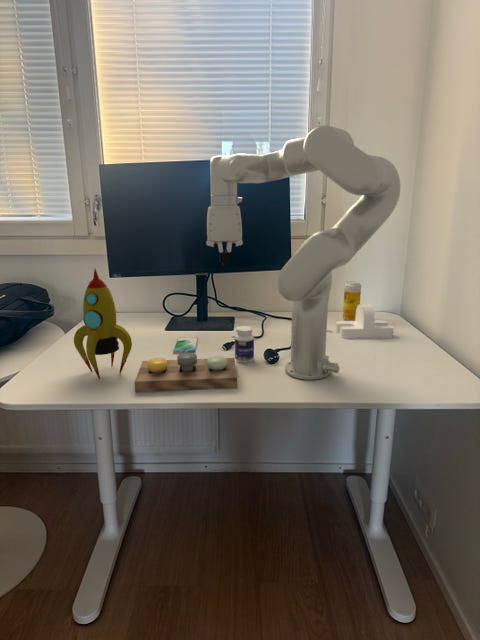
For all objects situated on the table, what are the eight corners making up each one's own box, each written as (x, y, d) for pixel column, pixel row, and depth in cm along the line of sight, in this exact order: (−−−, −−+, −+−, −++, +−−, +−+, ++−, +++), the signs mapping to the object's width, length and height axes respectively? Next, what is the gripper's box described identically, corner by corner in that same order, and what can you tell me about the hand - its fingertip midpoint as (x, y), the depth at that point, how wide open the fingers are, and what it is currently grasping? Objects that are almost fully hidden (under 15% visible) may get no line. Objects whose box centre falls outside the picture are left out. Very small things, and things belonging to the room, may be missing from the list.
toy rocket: (91, 386, 116) (80, 274, 107) (76, 370, 126) (64, 266, 116) (135, 375, 123) (128, 269, 114) (117, 360, 133) (110, 262, 124)
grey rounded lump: (197, 368, 121) (197, 352, 120) (197, 376, 116) (196, 359, 115) (178, 369, 121) (177, 353, 120) (177, 376, 116) (176, 360, 115)
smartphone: (198, 337, 152) (195, 352, 138) (198, 339, 152) (195, 355, 138) (177, 337, 152) (172, 352, 138) (177, 339, 152) (172, 355, 138)
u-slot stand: (393, 338, 151) (396, 307, 148) (341, 339, 150) (343, 308, 147) (384, 329, 160) (386, 301, 157) (335, 330, 160) (336, 301, 157)
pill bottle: (237, 364, 129) (237, 331, 127) (232, 357, 135) (232, 326, 132) (256, 361, 131) (256, 330, 128) (250, 355, 136) (250, 324, 133)
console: (234, 367, 127) (234, 357, 126) (237, 388, 113) (237, 377, 113) (143, 370, 125) (142, 360, 124) (135, 392, 112) (134, 381, 111)
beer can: (339, 318, 173) (341, 281, 169) (353, 317, 175) (355, 280, 171) (347, 323, 167) (350, 284, 163) (361, 321, 169) (364, 283, 165)
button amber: (168, 373, 121) (167, 357, 120) (167, 381, 116) (166, 365, 115) (149, 374, 121) (148, 358, 120) (147, 382, 116) (145, 365, 115)
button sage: (226, 371, 122) (226, 355, 121) (227, 379, 117) (227, 363, 116) (207, 372, 122) (207, 356, 121) (207, 380, 117) (207, 363, 116)
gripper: (248, 201, 130) (248, 262, 136) (197, 201, 129) (199, 263, 134) (251, 201, 123) (251, 266, 128) (198, 202, 122) (200, 268, 127)
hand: (224, 265), depth 131 cm, fingers closed
